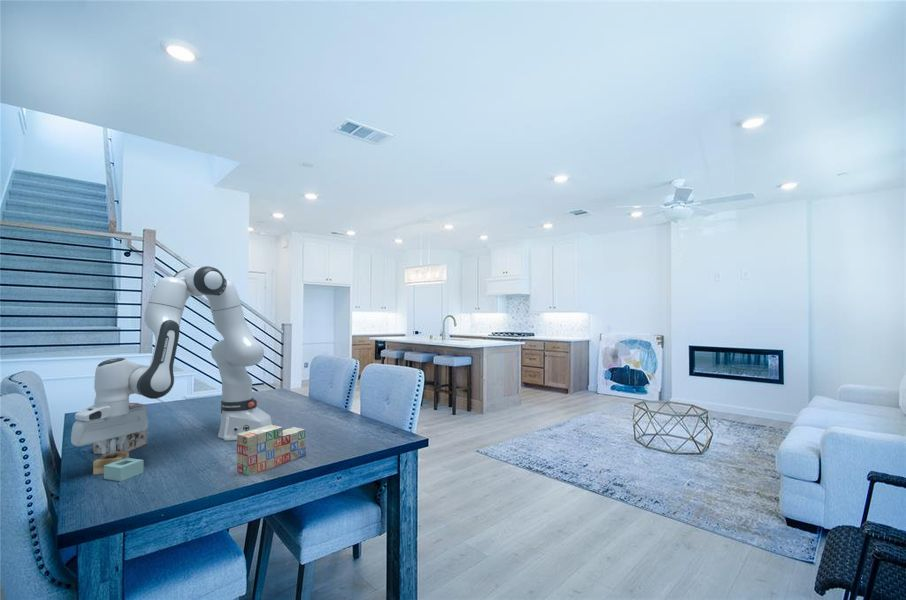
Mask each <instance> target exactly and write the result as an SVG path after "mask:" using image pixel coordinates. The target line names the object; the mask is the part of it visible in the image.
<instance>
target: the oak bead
mask: <svg viewBox="0 0 906 600" xmlns="http://www.w3.org/2000/svg"><path fill="white" fill-rule="evenodd" d="M125 458H130V452H123V453H116V458H108V454H101V455H100V456H99V457H98V458H97V459H95V460H93V461H92V462H93V463H92V464H93V465H92V467H93V469H92V470H93V472H92V474H93V475H99V474H101V475H102V474H104V465H107V464H110V463H113V462H116V461H119V460H122V459H125Z"/></svg>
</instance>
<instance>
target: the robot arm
mask: <svg viewBox="0 0 906 600" xmlns="http://www.w3.org/2000/svg"><path fill="white" fill-rule="evenodd" d="M193 296H194V297H201V296H205V297H206V299H207V301H208V302H209V308H210V311H211V315H212V320H213V324H214V328H215V330H216V331H217V332H218V333H219V334H220V336H222V338H223V339H220V340H218V341H216V342H215V343H213V345H212V347H211V350H210V355H211V357H212V359H213V361H215V363H216V366H217V369H218V371H219V375H220V379H221V380H220V381H221V395H222V396H221V401H220V413H221V419H220V420H221V421H220V425H219V428H218V429H219V431H218V434H217V438H220V439H222V440H224V441H226V442H227V441H237V434H239V433H243V432H247V431H251V430H254V429H257V428H261V427H265V426H269V425H273V421H272V417H271V415H270V414H268V413H267V412H265V411H264V410H262V409H261V408H259V407H258V402H259V399H255V398H253V379H252V377H251V375H250V374H249V373H248V370H247V367H253V366H256V365H258V364H260V362H261V361H263V359H264V356H265V348H264V347H263V345H262V344H261V343H260V342H258V340H257V339H256V338H255V336H254V335H253V333H252V332H251V330H250V328H249V326H248V324H247V321H246V318H245V315H244V310H243V306H242V301H241V298H240V296H239V293H238V290H237V288H236V286H235V284H234V283H233V282H232V281H231V280H228V279H226V278H225V277H224V274H223V273H222V272H221V271H220V270H219V269H218V268H215V267H214V266H207V265H206V266H205V265H204V266H193V267H190V268H183V269H181V270H179V271H178V272H176V273H175V274H174V275H173V276H163V277H161V278H160V279H158V281H157V282H156V284H155V286H154V288H153V290H152V292H151V293H150V295H149V299H148V301H147V305H146V308H145V311H144V323H145V325H146V326H147V328H148V329H149V330H150V331H151V332H152V333H153V335H154V337H155V343H154V349H153V353H152V357H151V361H150V364H149V365H144V364H139V363H136V362H132V361H130V360H128V359H127V358H125V357H117V358H110V359H107V360H103V361H101V362H100V363H98V365H97V366H96V368H95V371H94V372H95V374H94V381H93V382H94V383H93V384H94V385H93V388H94V392H95V398H94V400H93V402H94V403H93V404H92V405H90V406H89V407H86V408H84V409H82V410H80V411H78V412H76V413H75V414H74V418H75V420H76V421H75V422H74V423H73V424H72V427H71V428H72V429H71V433H70V434H71V436H70V442H71V444H72V445H73V446H75V447H82V446H83V447H84V446H87V445H91V444H93V443H95V442H97V444H98V445H99V446H100V448H101V453H102V454H101V455H103V454H107V453H109V452H110V451H109V450H110V448H109V447H105V445H104V444H105V443H106V440H108V439H112V438H116V437H118V438H119V439H120V440H119V441H118V443H117V444H116V451H118V450H122V444H123V443H124V441H125V440H126V435H128V434H132V433H136V432H140V431H145V430H146V429H147V430H148V428H149V420H148V407H147V405H146V404H143V403H139V404H137V405H130V406H129V403H130V396H131V395H133V394H136V395H139V396H142V397H145V398H147V399H152V400H153V399H160V398H162V397H164V396H166V395H167V394H168V393H170V391H171V390H172V389H173V386H174V384H175V375H174V365H175V357H176V353H177V348H178V344H179V338H180V326H181V321H182V317H183V313H184V309H185V306H186V303H187V300H188V299H189V298H190V297H193ZM136 407H137V408H136Z"/></svg>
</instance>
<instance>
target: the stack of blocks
mask: <svg viewBox="0 0 906 600" xmlns="http://www.w3.org/2000/svg"><path fill="white" fill-rule="evenodd" d="M306 438H307V437H306V429H305V428H301V427H296V426H292V427H290V428H286V429H283V426H278V425H273V424H272V425H269V426H265V427H261V428H257V429H254V430H251V431H247V432H243V433H239V434H237V440H236V441H237V443H236V454H237V455H236V456H237V457H236V460H237V461H236V462H237V463H236V466H237V468H236V471H237V473H239V474H243V475H245V476H248V477H249V476H251V475H252V476H253V475H254V474H257V473H260V472H264V471H265V470H269V469H272V468H274V467H277V466H280V465H283V464H285V463H288V462H291V461H294V460H297V459H299V458H300V459H301V458H302V457H305V456H306V455H307V454H306V447H307V446H306V445H307V443H306Z"/></svg>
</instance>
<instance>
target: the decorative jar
mask: <svg viewBox="0 0 906 600" xmlns="http://www.w3.org/2000/svg"><path fill="white" fill-rule="evenodd" d="M137 404H140V403H139V402H129V406H130V405H137ZM136 408H137V407H136ZM119 440H120V439H119V438H118V437H116V444H117V443H118V441H119ZM104 445H105V447H108V440H106V443H105V444H104ZM146 445H148V428H147V429H146V430H145V431H140V432H136V433H132V434H128V435H126V440H125V441H124V443H123V444H122V450H118V451H116V453H123V452H129V453H130V452H132V451H134V450H137V449H139V448H141V447H144V446H146ZM92 446H93V449H92V451H93V454H94V455H103V454H102V453H101V448H100V446H99V445H98V444H97V442H95V443H92ZM107 454H108V453H107Z"/></svg>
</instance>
